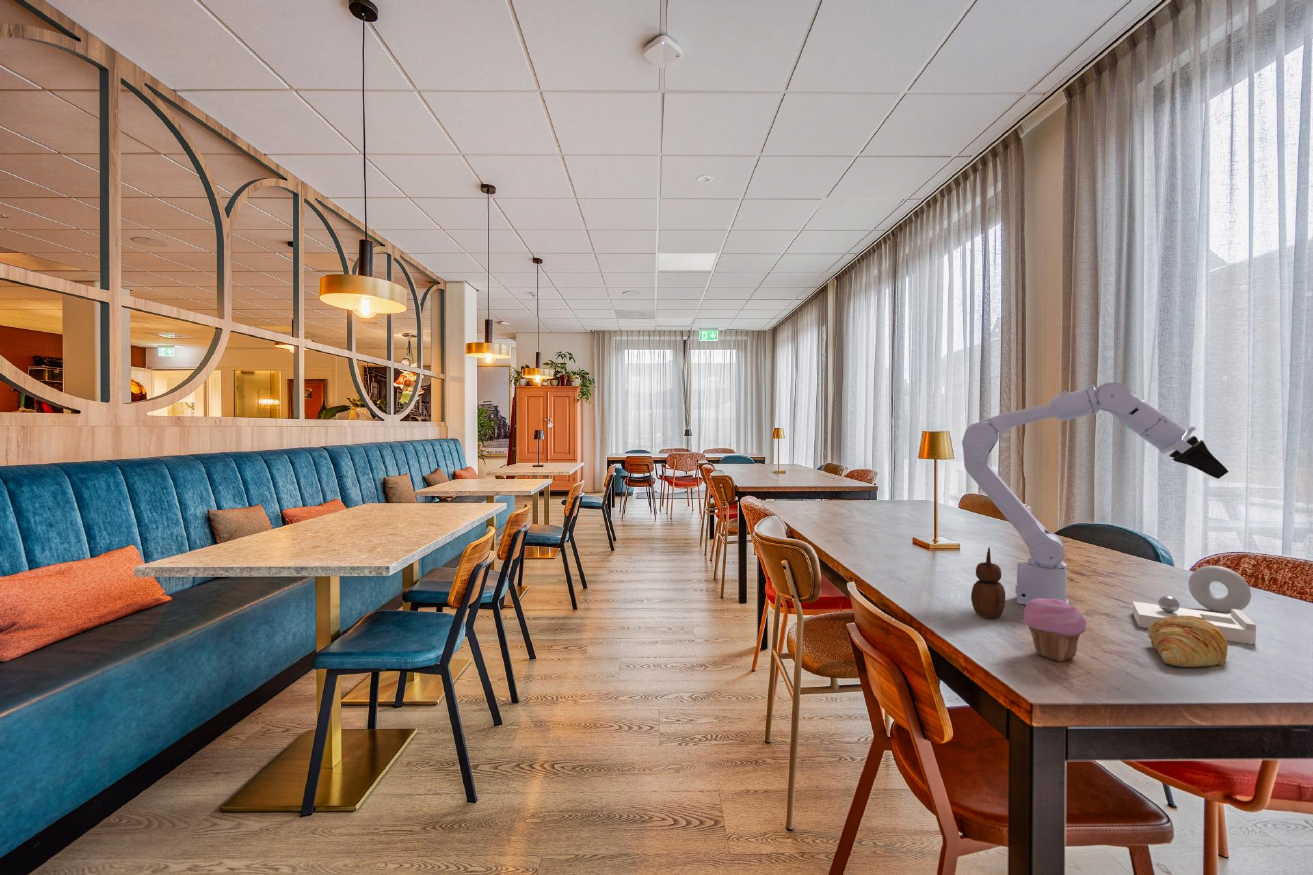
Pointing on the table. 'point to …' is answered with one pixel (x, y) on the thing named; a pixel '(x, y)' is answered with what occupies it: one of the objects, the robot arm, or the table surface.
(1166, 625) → the croissant
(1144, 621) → the board
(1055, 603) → the cupcake
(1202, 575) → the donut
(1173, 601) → the ball
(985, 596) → the wooden figurine
